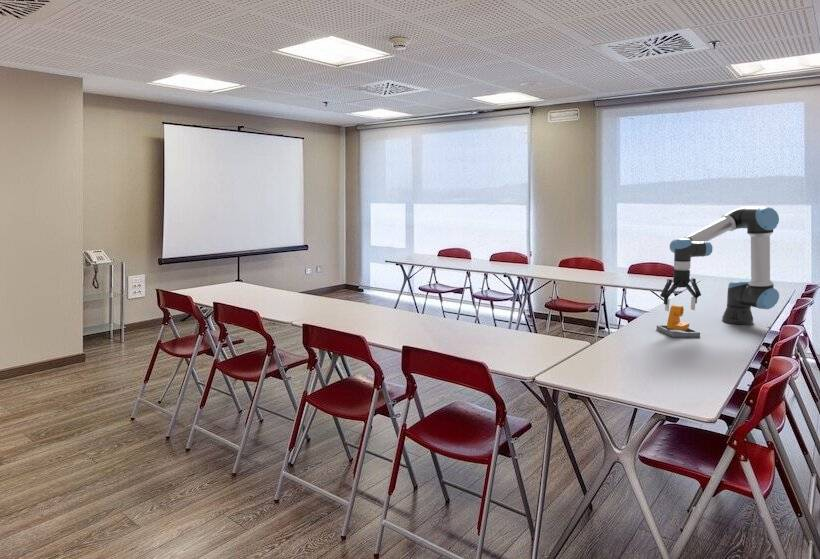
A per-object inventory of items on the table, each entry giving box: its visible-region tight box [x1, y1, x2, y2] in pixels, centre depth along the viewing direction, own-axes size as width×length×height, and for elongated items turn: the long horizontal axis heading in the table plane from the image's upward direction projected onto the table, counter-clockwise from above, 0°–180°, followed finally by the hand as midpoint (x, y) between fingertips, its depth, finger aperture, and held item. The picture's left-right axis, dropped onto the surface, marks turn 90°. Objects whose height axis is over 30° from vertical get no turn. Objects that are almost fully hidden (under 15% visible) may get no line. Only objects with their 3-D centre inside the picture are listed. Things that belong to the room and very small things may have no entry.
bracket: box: [666, 304, 690, 331], centre depth 291 cm, size 11×7×12 cm, turn 133°
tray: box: [656, 324, 701, 339], centre depth 292 cm, size 14×17×2 cm
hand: (679, 310), depth 291 cm, fingers open, 13 cm apart
